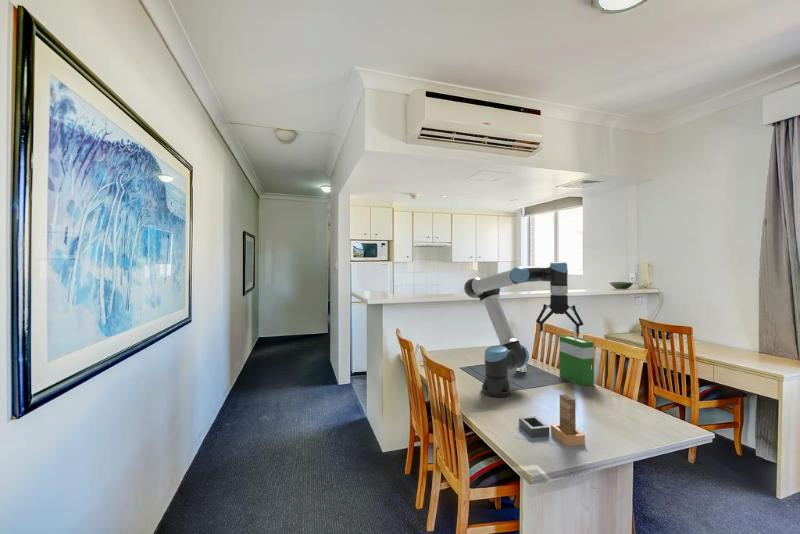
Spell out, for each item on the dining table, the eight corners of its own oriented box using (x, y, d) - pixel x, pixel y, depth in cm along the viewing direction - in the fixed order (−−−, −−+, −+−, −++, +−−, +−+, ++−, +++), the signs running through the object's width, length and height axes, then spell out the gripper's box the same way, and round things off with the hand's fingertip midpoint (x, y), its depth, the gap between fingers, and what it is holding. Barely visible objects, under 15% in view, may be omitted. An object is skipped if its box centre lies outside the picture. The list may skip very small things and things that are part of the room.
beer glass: (526, 373, 204) (525, 349, 204) (514, 372, 208) (514, 348, 207) (528, 370, 210) (528, 346, 210) (517, 368, 213) (516, 345, 213)
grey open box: (531, 437, 128) (531, 428, 128) (519, 426, 137) (518, 417, 137) (549, 436, 129) (549, 427, 129) (535, 424, 138) (535, 416, 138)
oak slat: (568, 442, 124) (568, 399, 124) (559, 435, 129) (559, 394, 129) (575, 441, 125) (575, 399, 124) (566, 435, 130) (566, 394, 129)
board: (516, 440, 128) (516, 437, 128) (518, 424, 141) (518, 421, 141) (587, 454, 118) (587, 451, 118) (583, 435, 131) (583, 432, 131)
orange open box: (566, 446, 122) (566, 436, 122) (551, 433, 131) (551, 424, 131) (584, 444, 123) (584, 435, 123) (568, 431, 132) (568, 422, 132)
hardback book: (559, 375, 200) (559, 336, 199) (570, 374, 202) (569, 335, 201) (582, 386, 183) (582, 342, 182) (593, 384, 184) (593, 341, 184)
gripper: (530, 294, 160) (530, 338, 161) (589, 296, 150) (590, 342, 151) (531, 293, 167) (531, 335, 167) (587, 294, 157) (588, 339, 157)
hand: (559, 338), depth 159 cm, fingers open, 13 cm apart
